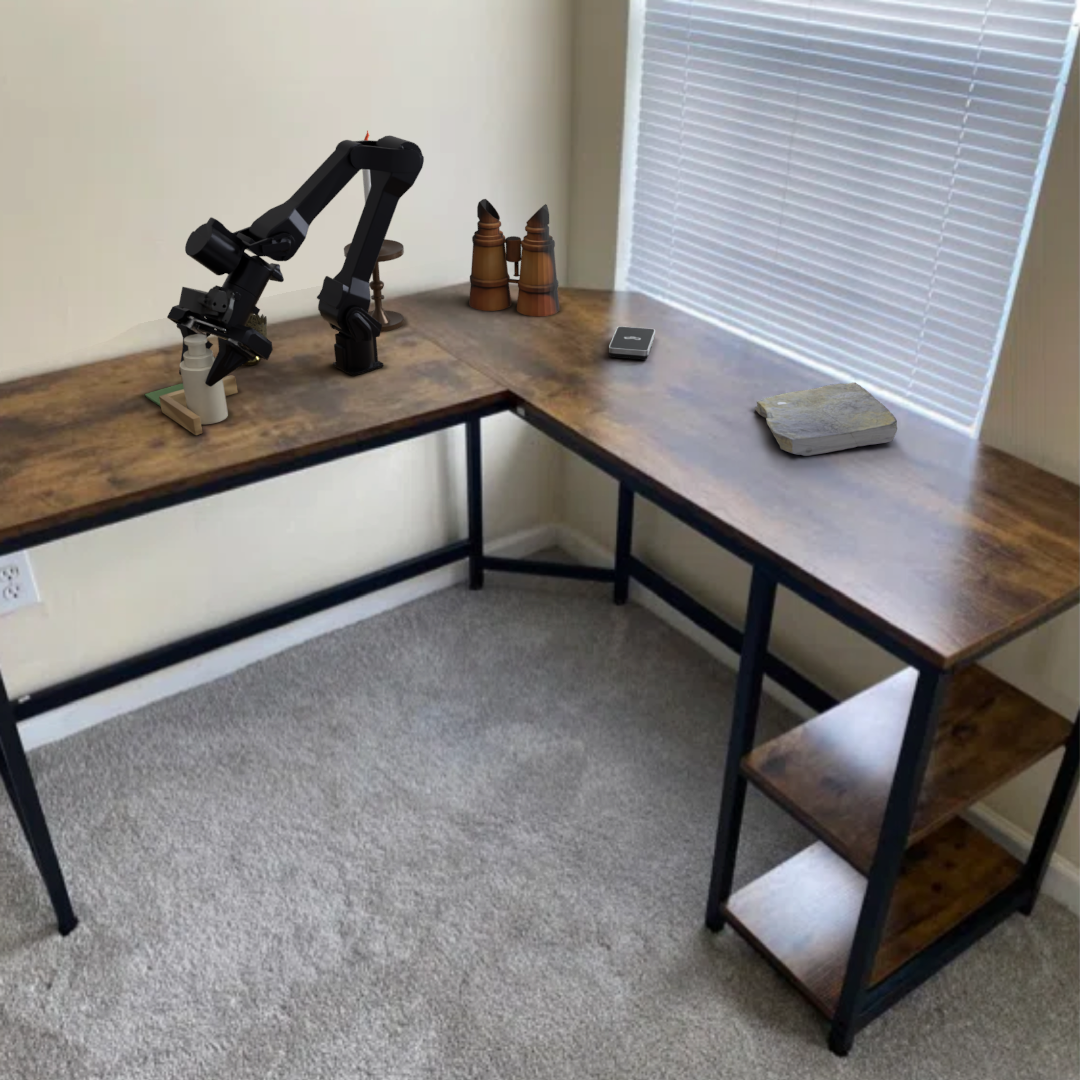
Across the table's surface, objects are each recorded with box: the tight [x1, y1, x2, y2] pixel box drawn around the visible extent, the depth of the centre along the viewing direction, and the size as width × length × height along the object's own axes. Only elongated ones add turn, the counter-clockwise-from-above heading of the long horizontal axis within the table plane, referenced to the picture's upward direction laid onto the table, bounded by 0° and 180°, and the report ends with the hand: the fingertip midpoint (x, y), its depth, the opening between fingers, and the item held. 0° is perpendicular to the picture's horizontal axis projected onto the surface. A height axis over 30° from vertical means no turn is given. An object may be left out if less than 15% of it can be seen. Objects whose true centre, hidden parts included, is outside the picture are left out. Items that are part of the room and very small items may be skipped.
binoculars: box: [468, 198, 561, 317], centre depth 215 cm, size 18×8×20 cm, turn 72°
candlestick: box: [343, 130, 405, 333], centre depth 203 cm, size 11×11×35 cm
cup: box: [224, 313, 268, 366], centre depth 193 cm, size 8×7×8 cm
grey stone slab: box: [754, 382, 898, 457], centre depth 172 cm, size 20×5×17 cm
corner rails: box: [159, 374, 239, 436], centre depth 177 cm, size 13×11×3 cm
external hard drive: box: [608, 325, 656, 361], centre depth 200 cm, size 7×11×2 cm, turn 168°
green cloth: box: [144, 383, 184, 408], centre depth 185 cm, size 12×6×1 cm, turn 132°
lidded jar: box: [179, 334, 229, 425], centre depth 173 cm, size 6×6×13 cm
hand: (194, 380), depth 172 cm, fingers closed on lidded jar, 6 cm apart
